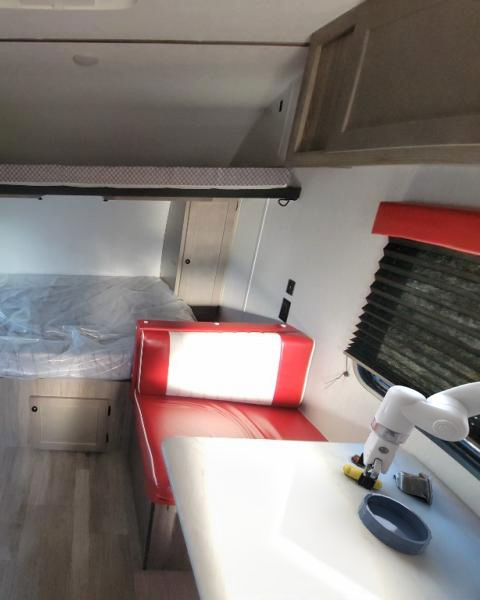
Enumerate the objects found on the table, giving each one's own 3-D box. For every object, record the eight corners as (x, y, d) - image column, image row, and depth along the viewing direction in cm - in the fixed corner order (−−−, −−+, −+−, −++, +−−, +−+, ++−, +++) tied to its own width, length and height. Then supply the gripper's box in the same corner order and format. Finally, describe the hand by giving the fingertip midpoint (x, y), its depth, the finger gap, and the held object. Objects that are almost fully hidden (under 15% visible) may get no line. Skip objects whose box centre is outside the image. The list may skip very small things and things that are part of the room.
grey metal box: (390, 465, 104) (396, 457, 96) (422, 472, 100) (431, 464, 92) (392, 498, 100) (398, 493, 92) (425, 507, 96) (435, 503, 88)
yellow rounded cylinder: (379, 487, 95) (383, 479, 94) (379, 493, 93) (384, 485, 92) (341, 468, 100) (345, 460, 99) (341, 474, 98) (344, 466, 97)
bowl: (420, 526, 85) (428, 515, 83) (427, 567, 75) (436, 556, 74) (358, 494, 92) (364, 484, 90) (357, 528, 82) (364, 517, 81)
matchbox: (350, 461, 103) (350, 459, 103) (353, 453, 107) (353, 451, 106) (369, 471, 100) (369, 470, 100) (371, 462, 104) (372, 461, 103)
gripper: (411, 455, 81) (381, 504, 87) (404, 420, 94) (379, 465, 100) (372, 439, 85) (346, 487, 92) (371, 407, 98) (348, 452, 104)
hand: (363, 476), depth 96 cm, fingers open, 9 cm apart
